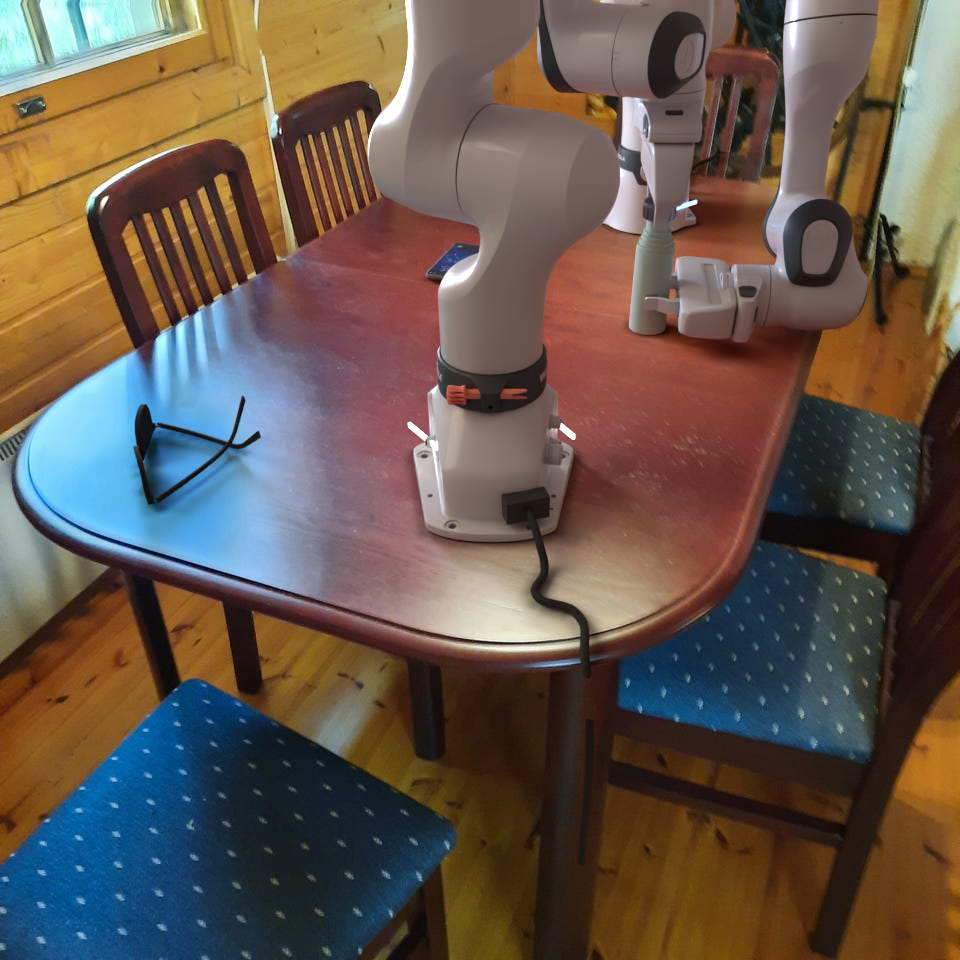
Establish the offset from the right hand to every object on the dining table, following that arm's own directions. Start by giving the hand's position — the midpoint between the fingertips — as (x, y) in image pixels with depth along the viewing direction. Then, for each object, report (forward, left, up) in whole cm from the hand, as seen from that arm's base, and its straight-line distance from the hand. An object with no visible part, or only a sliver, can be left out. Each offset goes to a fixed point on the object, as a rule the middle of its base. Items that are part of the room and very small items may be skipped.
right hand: (644, 292), depth 124 cm
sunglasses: (+40, -52, -5) cm, 66 cm away
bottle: (0, +1, -5) cm, 6 cm away
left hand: (0, +1, +11) cm, 11 cm away
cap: (0, +1, +13) cm, 13 cm away
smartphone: (-20, -31, -5) cm, 37 cm away
